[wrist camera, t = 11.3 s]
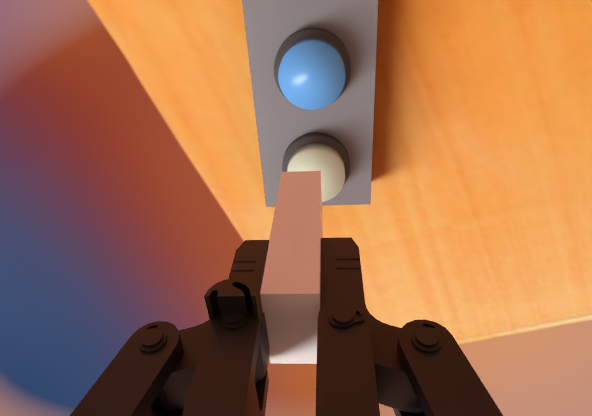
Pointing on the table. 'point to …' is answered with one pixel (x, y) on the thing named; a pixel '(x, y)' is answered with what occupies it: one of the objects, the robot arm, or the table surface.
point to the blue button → (311, 73)
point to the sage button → (320, 167)
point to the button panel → (320, 122)
